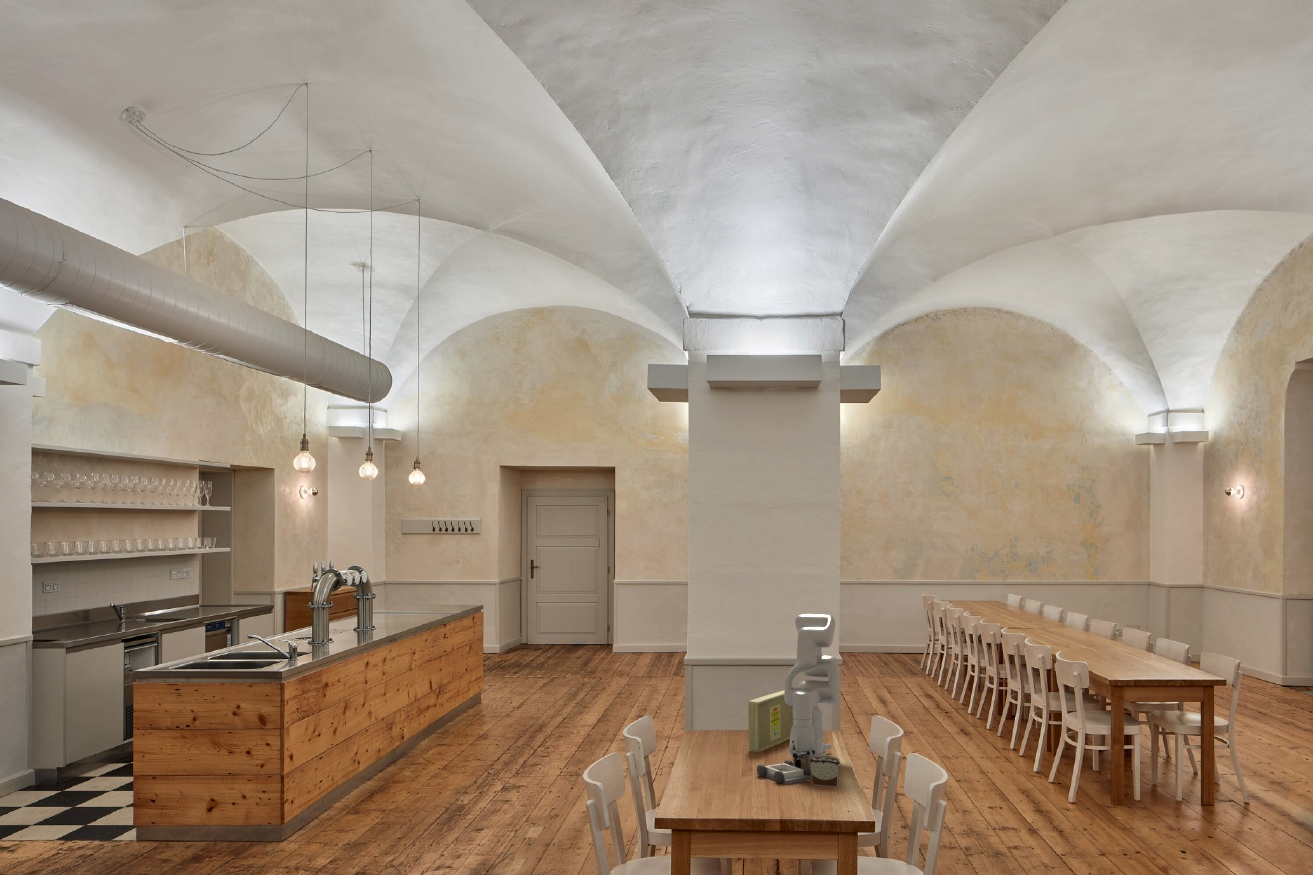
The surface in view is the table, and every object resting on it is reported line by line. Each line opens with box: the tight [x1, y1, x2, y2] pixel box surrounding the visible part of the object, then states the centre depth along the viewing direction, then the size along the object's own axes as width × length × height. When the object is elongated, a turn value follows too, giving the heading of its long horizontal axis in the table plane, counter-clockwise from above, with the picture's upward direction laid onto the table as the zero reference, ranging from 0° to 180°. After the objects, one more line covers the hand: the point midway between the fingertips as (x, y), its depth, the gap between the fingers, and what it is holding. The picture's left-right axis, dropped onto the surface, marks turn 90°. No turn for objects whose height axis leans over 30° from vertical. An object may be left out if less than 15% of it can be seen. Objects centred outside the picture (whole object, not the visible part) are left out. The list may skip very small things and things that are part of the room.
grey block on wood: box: [792, 753, 812, 769], centre depth 377 cm, size 5×7×6 cm
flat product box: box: [747, 689, 793, 753], centre depth 423 cm, size 35×5×22 cm, turn 145°
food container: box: [808, 755, 841, 788], centre depth 356 cm, size 12×6×10 cm, turn 71°
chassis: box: [756, 759, 812, 786], centre depth 365 cm, size 15×18×4 cm
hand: (803, 767), depth 376 cm, fingers closed on grey block on wood, 5 cm apart
